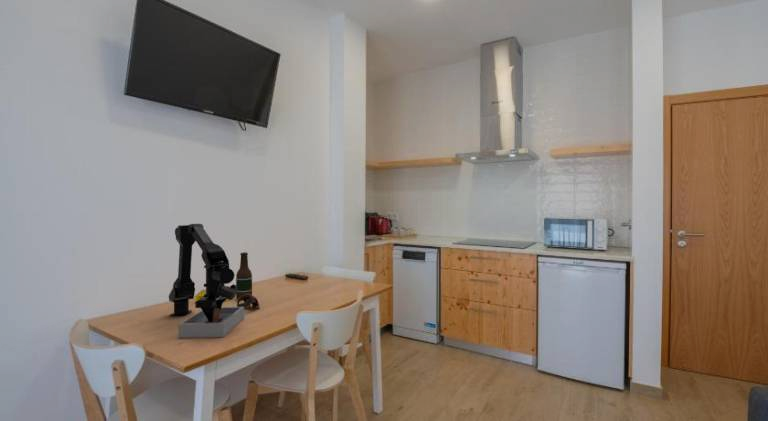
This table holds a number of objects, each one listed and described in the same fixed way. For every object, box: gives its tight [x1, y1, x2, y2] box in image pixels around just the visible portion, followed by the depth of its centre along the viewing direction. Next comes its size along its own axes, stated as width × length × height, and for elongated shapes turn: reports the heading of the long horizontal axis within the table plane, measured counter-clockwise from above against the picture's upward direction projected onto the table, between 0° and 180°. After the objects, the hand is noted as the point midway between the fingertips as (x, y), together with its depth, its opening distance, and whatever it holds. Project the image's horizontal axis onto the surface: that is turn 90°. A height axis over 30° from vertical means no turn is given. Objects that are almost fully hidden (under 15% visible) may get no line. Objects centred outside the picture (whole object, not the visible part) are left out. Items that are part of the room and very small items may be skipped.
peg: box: [208, 308, 219, 323], centre depth 140 cm, size 4×4×7 cm
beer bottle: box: [235, 251, 253, 302], centre depth 184 cm, size 8×8×24 cm
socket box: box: [177, 306, 245, 339], centre depth 140 cm, size 22×16×5 cm
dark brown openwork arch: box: [236, 294, 261, 310], centre depth 166 cm, size 12×10×8 cm
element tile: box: [195, 288, 230, 303], centre depth 184 cm, size 15×15×5 cm
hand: (213, 319), depth 140 cm, fingers open, 5 cm apart
